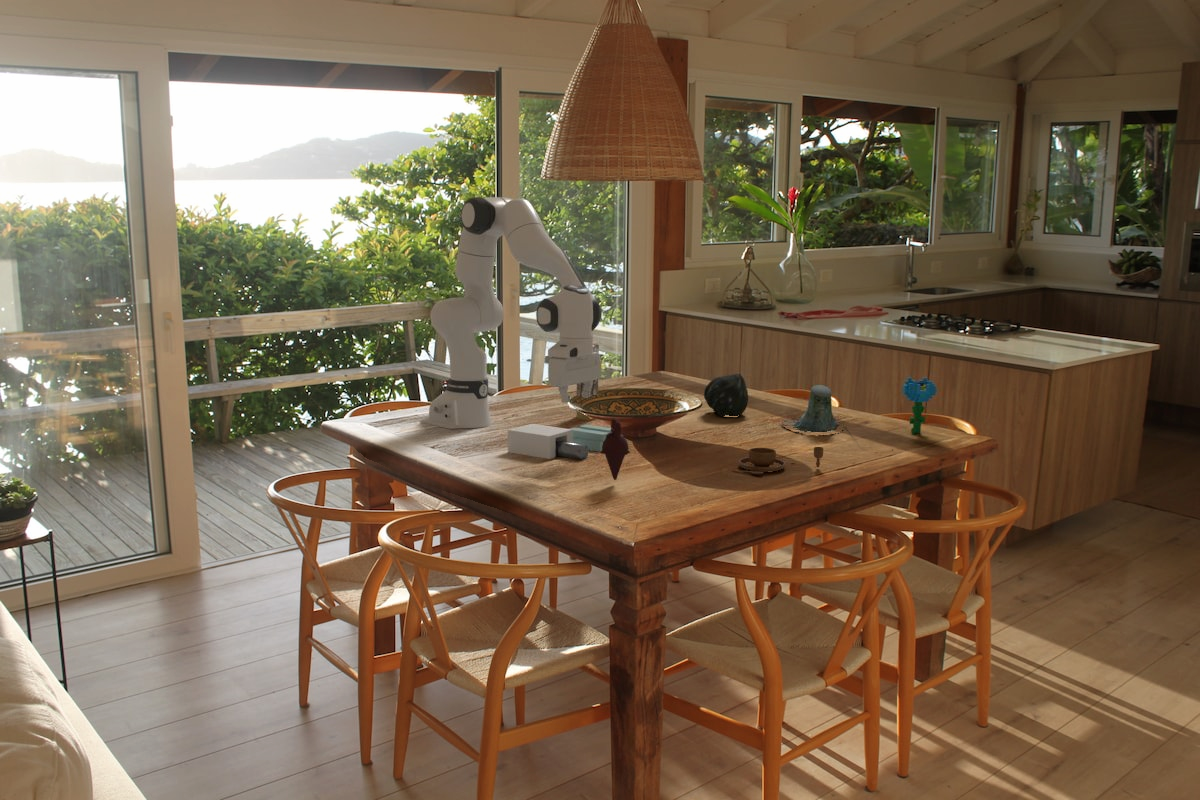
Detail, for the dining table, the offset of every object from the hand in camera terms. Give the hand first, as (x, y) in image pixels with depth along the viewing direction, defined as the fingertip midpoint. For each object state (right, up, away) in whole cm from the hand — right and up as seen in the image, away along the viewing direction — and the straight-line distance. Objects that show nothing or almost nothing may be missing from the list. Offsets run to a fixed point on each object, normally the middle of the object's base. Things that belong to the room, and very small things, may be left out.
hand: (576, 399), depth 274 cm
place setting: (+52, -19, -6) cm, 56 cm away
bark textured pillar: (+2, -7, +53) cm, 53 cm away
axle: (-4, -15, +5) cm, 16 cm away
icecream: (+10, -20, -20) cm, 30 cm away
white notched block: (-10, -14, +9) cm, 20 cm away
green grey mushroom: (+71, -12, +44) cm, 84 cm away
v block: (+5, -13, +18) cm, 23 cm away
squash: (+47, -7, +59) cm, 75 cm away
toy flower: (+100, -12, +31) cm, 105 cm away
